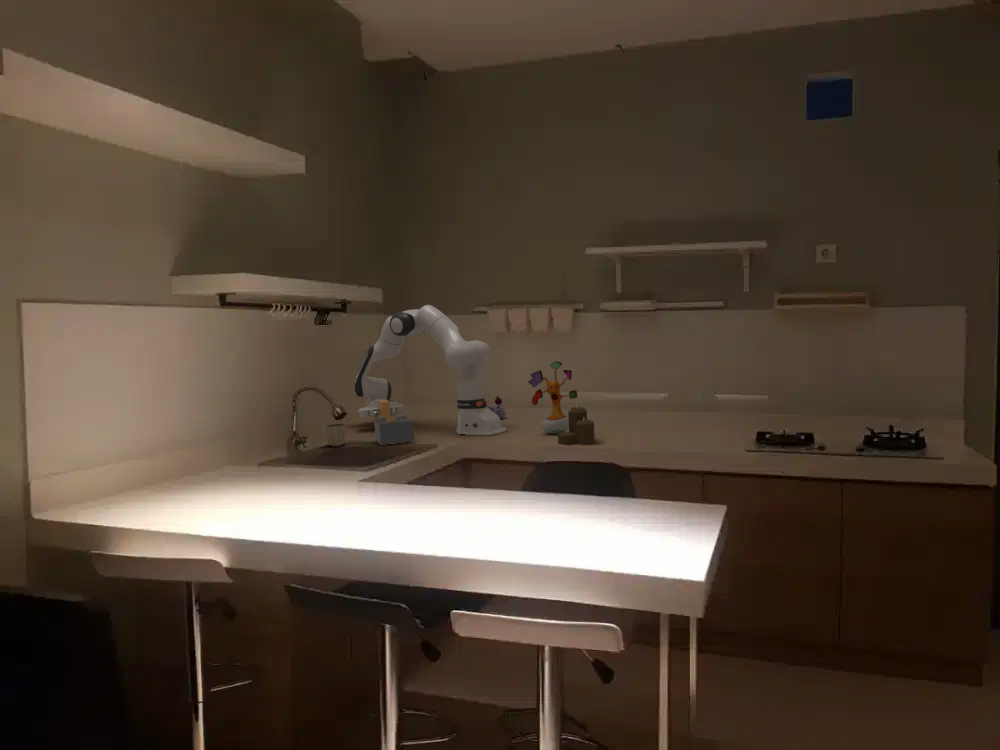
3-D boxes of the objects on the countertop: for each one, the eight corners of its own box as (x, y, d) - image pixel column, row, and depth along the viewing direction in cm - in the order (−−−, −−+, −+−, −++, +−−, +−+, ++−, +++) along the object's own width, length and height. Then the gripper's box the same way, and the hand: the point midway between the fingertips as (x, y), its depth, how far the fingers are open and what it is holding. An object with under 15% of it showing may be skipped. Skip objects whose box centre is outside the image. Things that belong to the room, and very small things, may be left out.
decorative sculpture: (529, 435, 347) (525, 363, 344) (532, 432, 355) (529, 361, 352) (577, 435, 342) (574, 362, 339) (579, 431, 350) (576, 360, 347)
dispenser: (375, 441, 353) (374, 418, 352) (408, 437, 358) (406, 414, 357) (380, 446, 342) (379, 422, 341) (414, 442, 346) (412, 418, 345)
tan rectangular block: (379, 430, 380) (377, 399, 378) (387, 429, 381) (385, 399, 379) (383, 433, 370) (381, 402, 369) (391, 433, 371) (389, 401, 370)
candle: (563, 438, 338) (561, 401, 337) (596, 438, 335) (595, 400, 334) (557, 445, 325) (555, 406, 323) (592, 444, 322) (591, 406, 320)
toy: (497, 433, 390) (511, 404, 388) (469, 419, 389) (483, 390, 388) (498, 429, 400) (511, 401, 399) (470, 416, 400) (484, 387, 398)
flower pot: (335, 442, 355) (334, 422, 354) (352, 444, 350) (351, 423, 349) (320, 447, 347) (318, 426, 346) (337, 448, 342) (336, 427, 341)
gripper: (355, 404, 383) (360, 408, 370) (400, 400, 390) (406, 403, 377) (356, 418, 384) (361, 422, 371) (400, 413, 390) (407, 417, 377)
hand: (384, 413), depth 374 cm, fingers open, 6 cm apart
